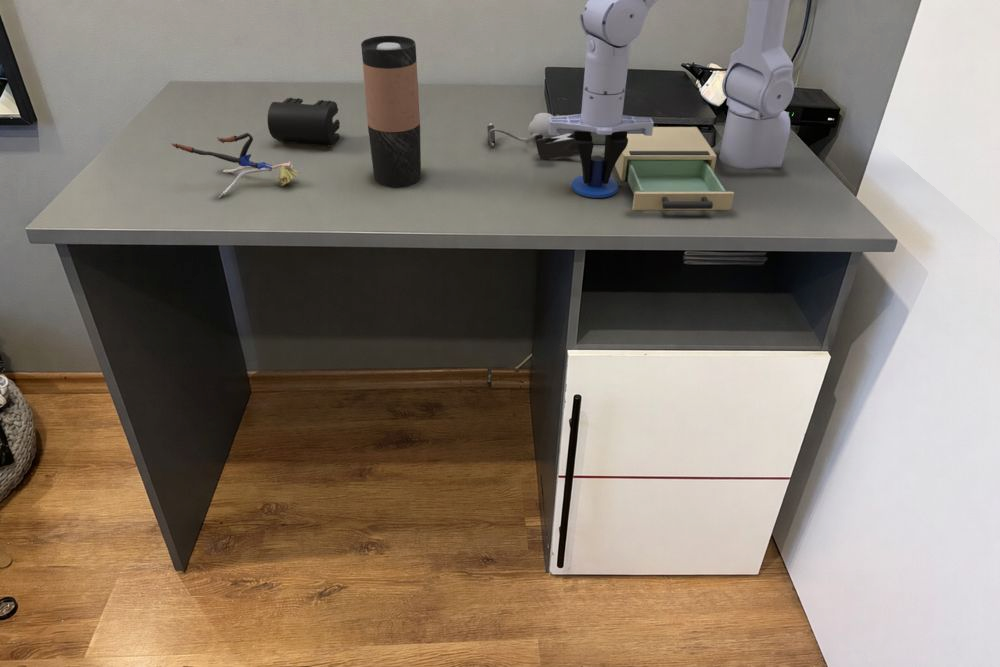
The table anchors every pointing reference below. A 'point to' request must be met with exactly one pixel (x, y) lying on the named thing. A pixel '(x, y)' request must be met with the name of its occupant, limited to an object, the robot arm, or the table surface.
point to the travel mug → (392, 109)
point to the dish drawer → (666, 147)
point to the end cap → (303, 122)
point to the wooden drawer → (676, 185)
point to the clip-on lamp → (543, 138)
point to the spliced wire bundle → (245, 161)
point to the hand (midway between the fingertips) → (595, 180)
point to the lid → (595, 181)
